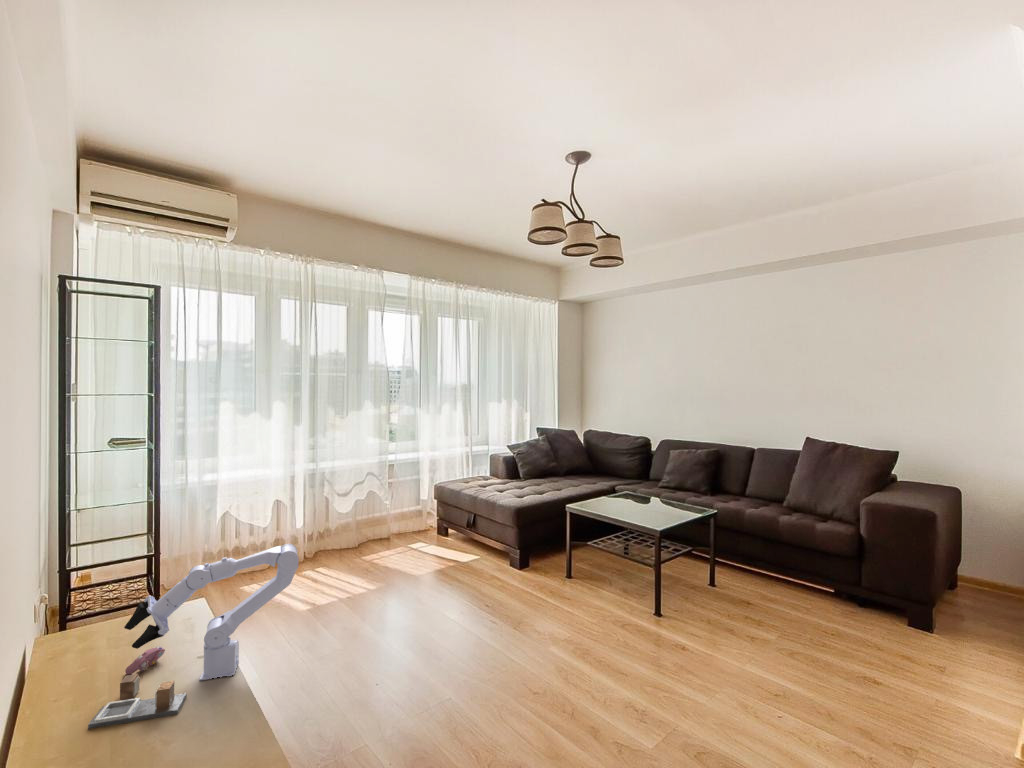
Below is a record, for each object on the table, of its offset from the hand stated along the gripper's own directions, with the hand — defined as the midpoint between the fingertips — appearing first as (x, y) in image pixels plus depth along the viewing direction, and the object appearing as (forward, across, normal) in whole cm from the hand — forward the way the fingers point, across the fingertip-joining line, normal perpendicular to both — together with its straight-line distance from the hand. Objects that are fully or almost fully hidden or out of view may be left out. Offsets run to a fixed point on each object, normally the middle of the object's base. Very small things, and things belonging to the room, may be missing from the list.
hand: (130, 637), depth 148 cm
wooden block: (+10, +10, +7) cm, 16 cm away
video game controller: (+9, -3, +18) cm, 20 cm away
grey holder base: (+6, +20, +3) cm, 21 cm away
